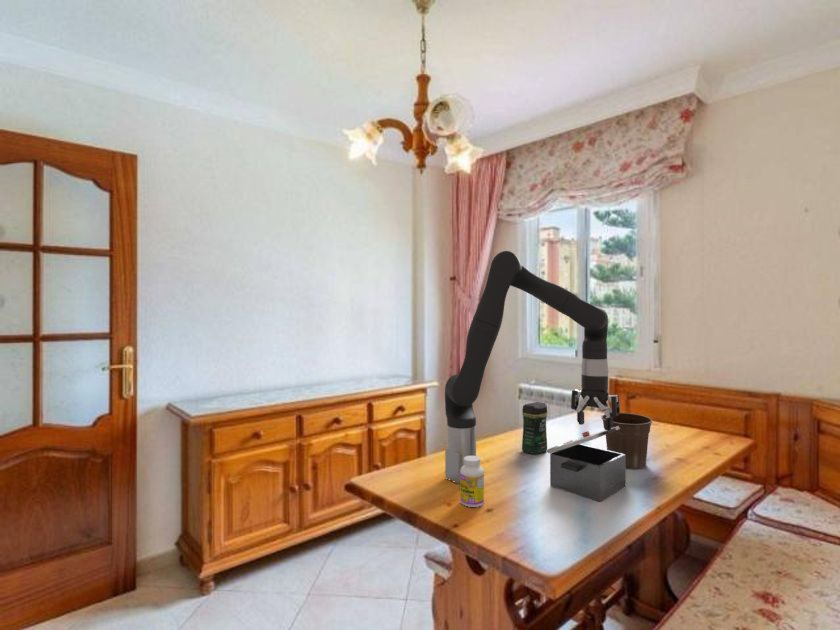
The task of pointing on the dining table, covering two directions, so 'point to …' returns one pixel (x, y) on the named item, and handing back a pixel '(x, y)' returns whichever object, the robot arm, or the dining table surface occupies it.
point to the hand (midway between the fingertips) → (594, 426)
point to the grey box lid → (582, 439)
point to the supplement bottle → (472, 482)
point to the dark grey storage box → (588, 471)
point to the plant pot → (630, 438)
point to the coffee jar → (534, 428)
